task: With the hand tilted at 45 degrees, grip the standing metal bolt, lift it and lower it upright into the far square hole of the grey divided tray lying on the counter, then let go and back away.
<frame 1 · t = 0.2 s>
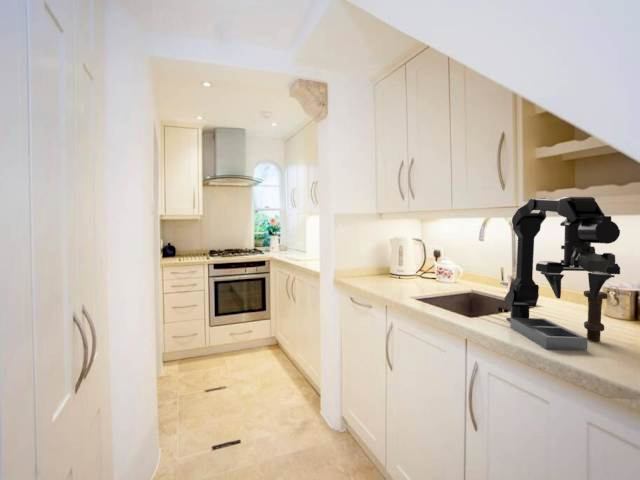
hand: (575, 298, 90), 15 cm above the counter, tool pointing down, fingers open, 9 cm apart
grey divided tray: (544, 338, 102), on the counter
bolt: (593, 341, 99), on the counter
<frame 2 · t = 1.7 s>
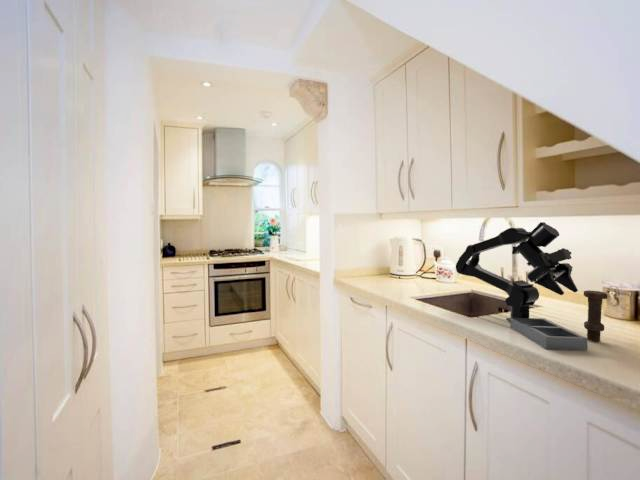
hand: (569, 293, 104), 14 cm above the counter, tool tilted 45°, fingers open, 9 cm apart
nothing on the counter moved.
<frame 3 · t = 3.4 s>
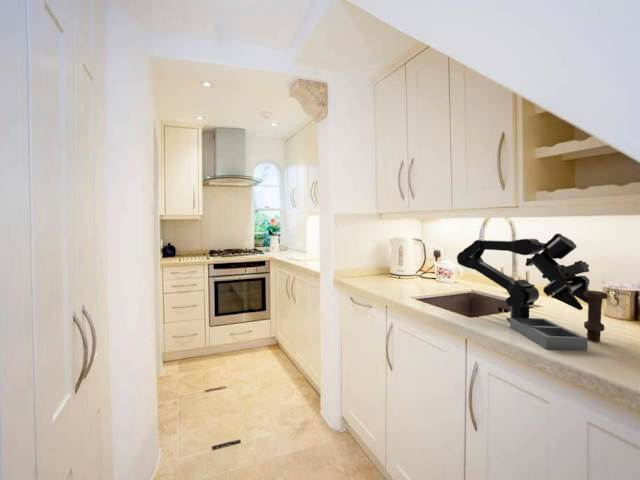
hand: (588, 307, 100), 10 cm above the counter, tool tilted 45°, fingers open, 9 cm apart
nothing on the counter moved.
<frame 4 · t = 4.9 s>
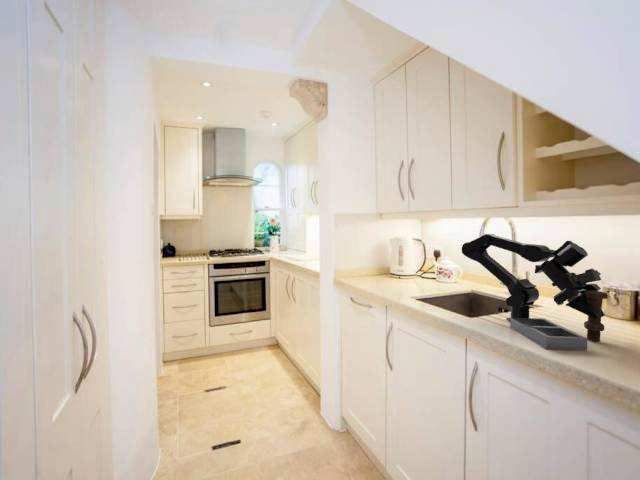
hand: (600, 317, 98), 8 cm above the counter, tool tilted 45°, fingers closed on bolt, 4 cm apart
bolt: (593, 341, 99), on the counter, touching gripper
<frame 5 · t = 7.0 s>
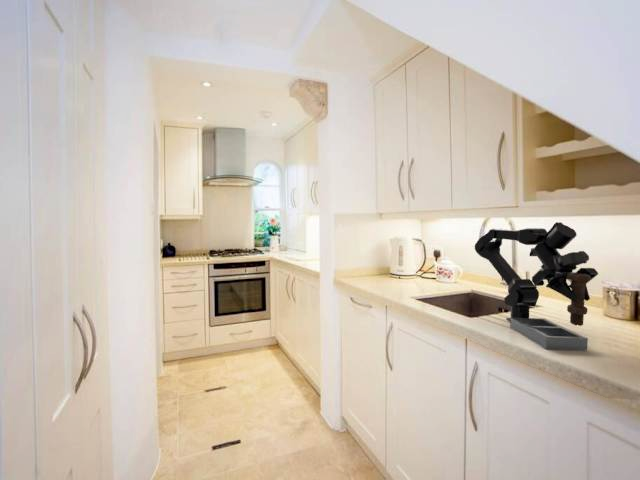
hand: (581, 300, 95), 13 cm above the counter, tool tilted 45°, fingers closed on bolt, 4 cm apart
bolt: (576, 325, 97), point 6 cm above the counter, touching gripper
when the fingers open (8 cm above the counter, at t = 9.1 s): bolt stays where it is, resting in grey divided tray.
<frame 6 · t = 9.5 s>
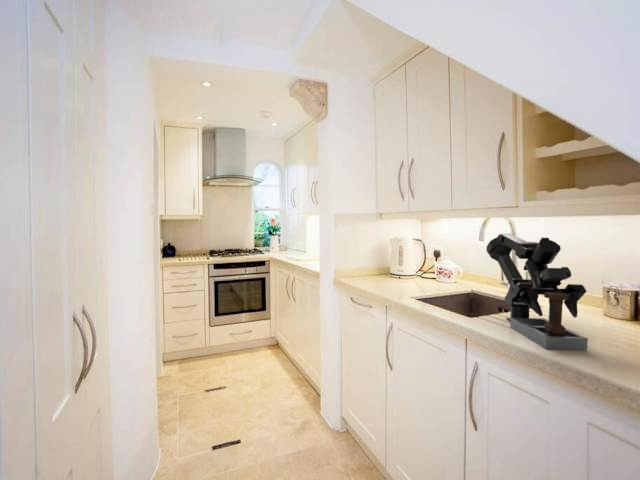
hand: (558, 316, 95), 9 cm above the counter, tool tilted 45°, fingers open, 9 cm apart
bolt: (554, 343, 97), resting in grey divided tray
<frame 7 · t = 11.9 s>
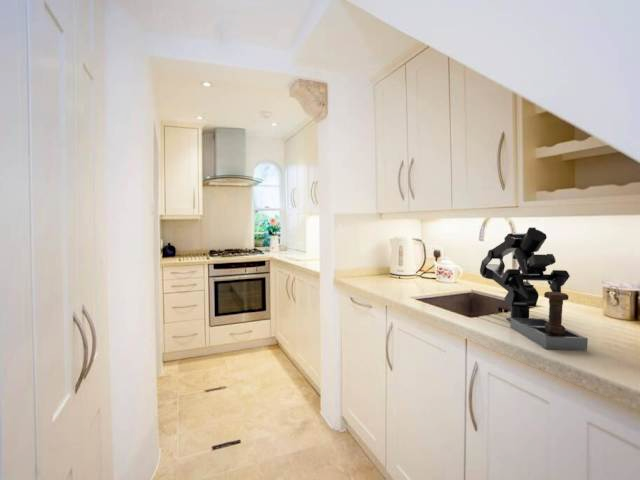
hand: (543, 298, 103), 12 cm above the counter, tool tilted 45°, fingers open, 9 cm apart
nothing on the counter moved.
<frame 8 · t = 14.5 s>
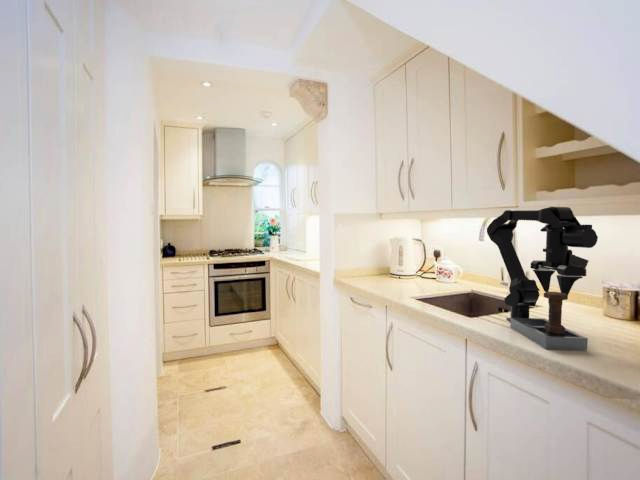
hand: (555, 294, 105), 13 cm above the counter, tool pointing down, fingers open, 9 cm apart
nothing on the counter moved.
at the end: bolt 0.4 cm from the target spot on the grey divided tray, point 0.0 cm above the grey divided tray's base; bolt tilted 0°; the gripper is holding nothing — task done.
